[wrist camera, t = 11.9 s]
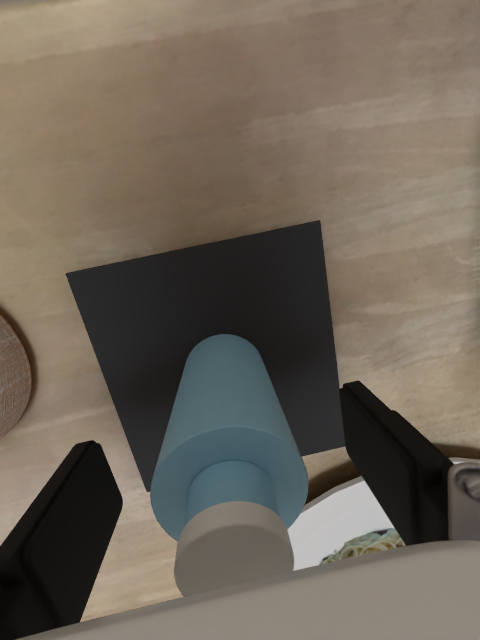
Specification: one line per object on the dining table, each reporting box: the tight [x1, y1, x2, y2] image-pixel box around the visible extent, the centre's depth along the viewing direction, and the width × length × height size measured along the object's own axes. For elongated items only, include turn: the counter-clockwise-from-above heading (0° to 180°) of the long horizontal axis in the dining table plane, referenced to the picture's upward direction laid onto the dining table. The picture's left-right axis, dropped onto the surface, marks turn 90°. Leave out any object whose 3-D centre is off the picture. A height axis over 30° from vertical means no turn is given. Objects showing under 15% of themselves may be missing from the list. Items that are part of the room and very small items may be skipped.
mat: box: [66, 220, 345, 492], centre depth 17 cm, size 15×14×1 cm
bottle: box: [150, 334, 308, 597], centre depth 11 cm, size 5×5×11 cm
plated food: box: [288, 457, 480, 571], centre depth 22 cm, size 30×30×3 cm
